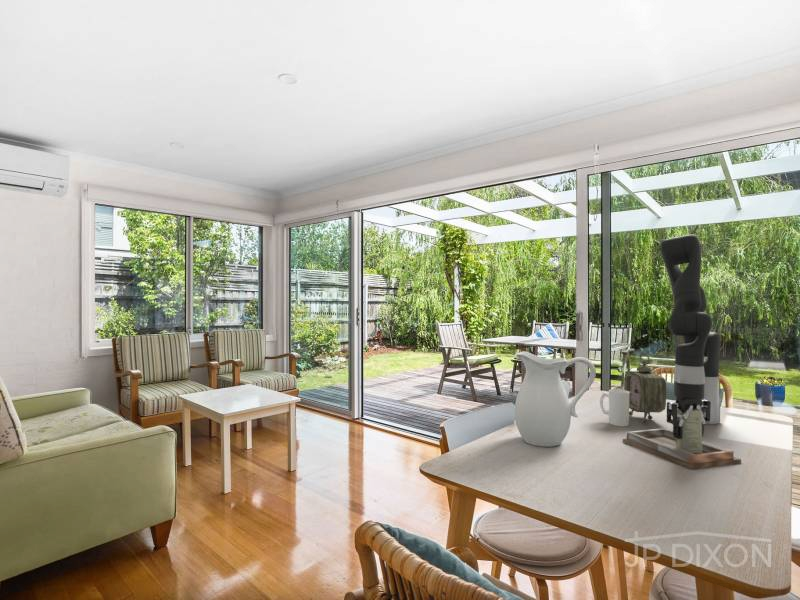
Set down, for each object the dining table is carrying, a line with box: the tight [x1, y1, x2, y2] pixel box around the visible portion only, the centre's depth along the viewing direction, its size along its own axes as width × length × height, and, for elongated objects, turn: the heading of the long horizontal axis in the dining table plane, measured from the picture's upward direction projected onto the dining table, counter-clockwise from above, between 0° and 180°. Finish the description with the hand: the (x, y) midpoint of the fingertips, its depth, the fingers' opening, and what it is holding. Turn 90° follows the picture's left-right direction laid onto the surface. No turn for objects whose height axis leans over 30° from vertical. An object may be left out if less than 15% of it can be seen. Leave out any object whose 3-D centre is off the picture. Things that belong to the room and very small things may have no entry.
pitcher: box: [514, 351, 597, 448], centre depth 142 cm, size 24×17×28 cm
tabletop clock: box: [623, 352, 667, 424], centre depth 170 cm, size 14×9×25 cm, turn 178°
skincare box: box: [676, 409, 703, 454], centre depth 131 cm, size 6×4×12 cm
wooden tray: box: [622, 427, 742, 470], centre depth 135 cm, size 18×24×3 cm
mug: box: [599, 388, 630, 427], centre depth 165 cm, size 10×7×12 cm, turn 46°
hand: (688, 437), depth 131 cm, fingers closed on skincare box, 7 cm apart
